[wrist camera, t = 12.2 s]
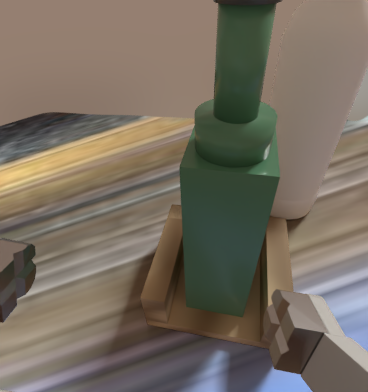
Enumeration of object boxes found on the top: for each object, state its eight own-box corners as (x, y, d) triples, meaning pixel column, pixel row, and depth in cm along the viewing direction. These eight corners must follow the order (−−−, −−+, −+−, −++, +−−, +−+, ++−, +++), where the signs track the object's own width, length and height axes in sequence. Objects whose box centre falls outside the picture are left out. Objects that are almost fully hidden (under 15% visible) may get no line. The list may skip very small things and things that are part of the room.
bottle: (260, 223, 34) (354, -171, 14) (245, 183, 40) (295, -135, 20) (323, 218, 34) (502, -174, 14) (298, 179, 40) (401, -138, 20)
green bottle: (186, 306, 25) (170, -33, 9) (195, 260, 29) (196, -39, 13) (242, 317, 24) (337, -37, 8) (245, 268, 28) (312, -42, 12)
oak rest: (147, 324, 25) (140, 297, 22) (174, 233, 33) (171, 204, 30) (282, 351, 23) (296, 326, 20) (276, 248, 31) (286, 218, 28)
